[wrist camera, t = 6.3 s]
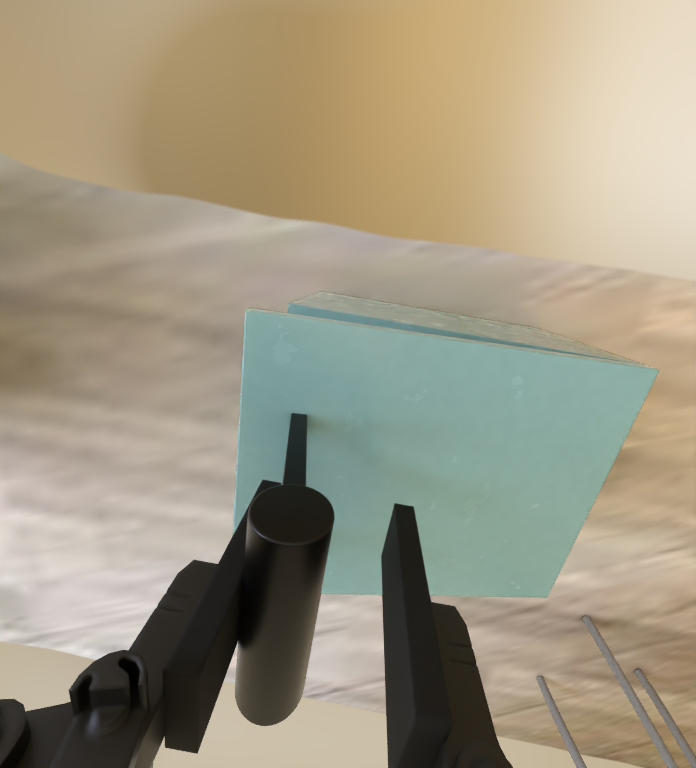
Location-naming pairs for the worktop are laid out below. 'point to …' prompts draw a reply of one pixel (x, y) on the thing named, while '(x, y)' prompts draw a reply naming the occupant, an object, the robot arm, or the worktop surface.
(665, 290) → the worktop surface
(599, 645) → the citrus juicer
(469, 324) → the teal box
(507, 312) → the worktop surface
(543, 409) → the cabinet door
